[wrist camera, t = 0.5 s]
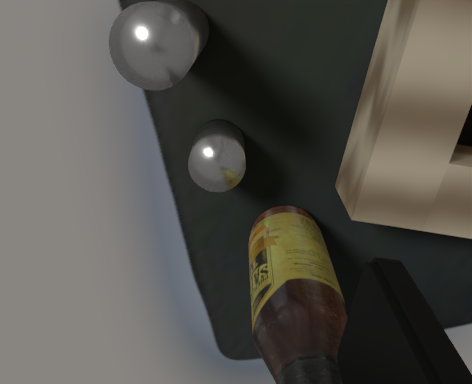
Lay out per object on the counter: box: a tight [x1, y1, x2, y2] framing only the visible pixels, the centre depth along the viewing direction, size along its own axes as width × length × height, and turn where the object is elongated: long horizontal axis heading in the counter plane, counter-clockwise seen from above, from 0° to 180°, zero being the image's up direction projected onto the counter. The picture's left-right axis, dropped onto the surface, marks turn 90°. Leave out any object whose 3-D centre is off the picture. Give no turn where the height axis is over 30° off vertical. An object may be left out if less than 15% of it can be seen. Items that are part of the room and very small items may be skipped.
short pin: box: [188, 119, 246, 192], centre depth 33 cm, size 4×4×5 cm
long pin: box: [109, 0, 209, 90], centre depth 26 cm, size 4×4×12 cm
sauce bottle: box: [249, 205, 348, 384], centre depth 30 cm, size 7×6×20 cm
